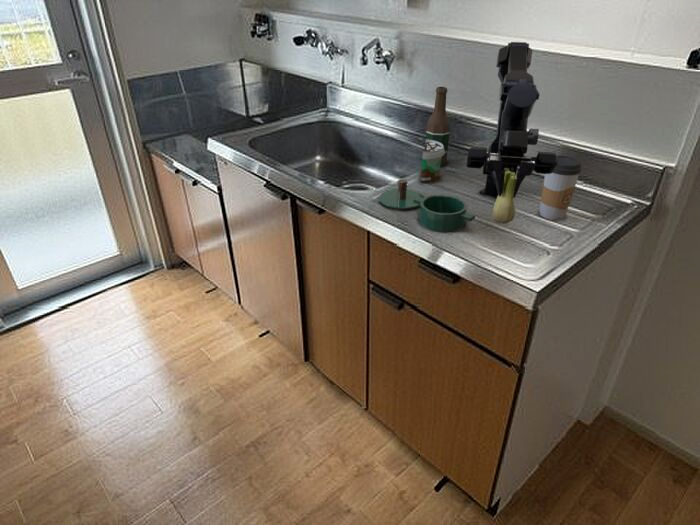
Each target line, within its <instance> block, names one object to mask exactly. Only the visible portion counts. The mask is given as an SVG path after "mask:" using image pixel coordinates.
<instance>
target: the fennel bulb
mask: <svg viewBox="0 0 700 525" xmlns="http://www.w3.org/2000/svg"><path fill="white" fill-rule="evenodd" d="M516 176H517V175H515V172H512V173H511V171H509V168H504V171H503V177H502V194H501V197H499V195H498V197H497V198H495V203H494V205H493V209H492V220H493V221H494V222H496V224H497V223H498V224H503V225H506V224H509V223H511V222H512V221H513V220H514V219H515V216H516V206H515V203H514V198H513V196H514V190H515V185H516V180H517V177H516Z"/></svg>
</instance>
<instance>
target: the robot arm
mask: <svg viewBox="0 0 700 525" xmlns="http://www.w3.org/2000/svg"><path fill="white" fill-rule="evenodd" d="M532 57H533V49H532V48H531V47H530V43H528V42H526V41H524V42H523V41H511V42H508V43H507V45H506V46H503V47H501V48H499V50H498V52H497V58H496V66H495V67H496V68H497V69H498V70H497V77H498V79H499V81H500V87H499V94H498V100H499V109H498V117H497V124H496V132H495V138H494V140H493V141H492V142H491V144H490V145H489V147H482V146H481V147H479V146H471V147H469V148H468V151H467V158H466V168H468V169H479V170H480V169H482V175H486V180H485V186H484V188H483V189H481V190H479V194H481V195H484V196H488V197H491V198H493V199H497V197H498V195H499V197H501V194H502V177H503V171H504V168H509V171H511V173H512V172H515V176H516V177H517V180H516V185H515V190H514V196H513V199H515V198H516V196H517V194H518V191H519V189H520V187H521V185H522V183H523V181H524V179H526V177H530V176H532V174H533V171H534V172H535V173H536V174H542V175H543V174H544V175H545V174H551V173H552V172H553V170H554V169H555V167H556V165H557V162H558V154H557V153H556V152H551V151H538V152H537V155H536V156H526V154H527V152H528V147H529V146H536V145H537V144H538V141H539V133H540V129H539V128H529V129H528V124H529V117H530V116H531V114H532V111H533V108H534V107H535V106H534V105H535V103H536V102H537V101H538V100H540V92H539V90H538V88H537V84H535V82H534V76H533V75H532V74H531V73H529V72H528V69H529V68H530V66H531V64H532ZM518 167H519V168H518Z"/></svg>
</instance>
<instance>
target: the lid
mask: <svg viewBox="0 0 700 525" xmlns="http://www.w3.org/2000/svg"><path fill="white" fill-rule="evenodd" d="M407 188H408V180H407V179H404V178H401V179H398V182H397V188H392V189H388V190H385V191H383V192H381V193H380V194H379V197H378V198H379V199H378V200H379V202H380V203H381V204H382V205H383V206H386V207H388V208H391V209H397V210H411V209H416V208H420V205H419V204H416V203H413V199H415V198H417V197H422V198H425V196H424V195H423V194H422V193H420V192H418V191H416V190H412V189H407Z"/></svg>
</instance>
